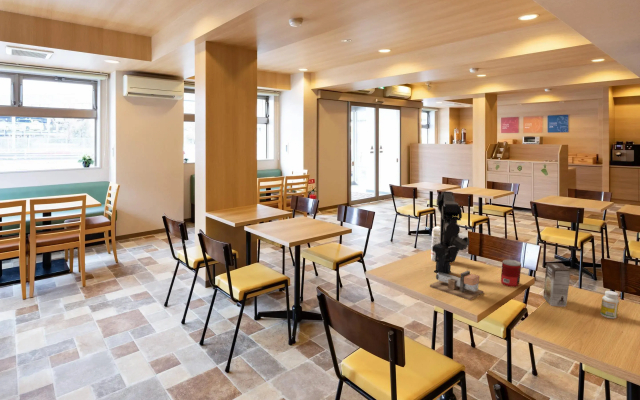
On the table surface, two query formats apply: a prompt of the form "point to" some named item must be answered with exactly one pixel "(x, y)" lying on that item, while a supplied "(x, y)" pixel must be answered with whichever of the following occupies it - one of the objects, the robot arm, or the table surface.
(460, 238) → the robot arm
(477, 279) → the block
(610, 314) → the supplement bottle
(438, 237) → the juice carton
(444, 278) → the shaft
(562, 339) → the table surface
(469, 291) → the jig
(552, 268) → the coffee box
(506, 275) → the canned food
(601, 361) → the table surface
